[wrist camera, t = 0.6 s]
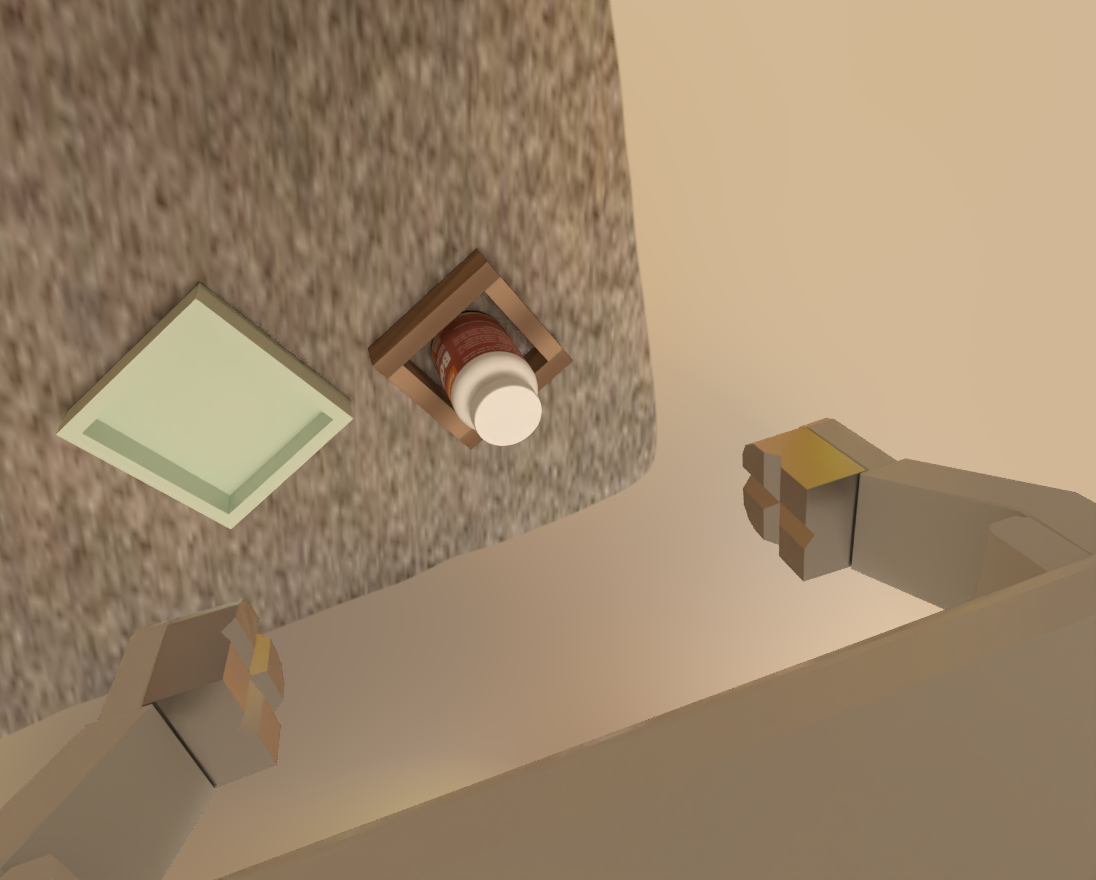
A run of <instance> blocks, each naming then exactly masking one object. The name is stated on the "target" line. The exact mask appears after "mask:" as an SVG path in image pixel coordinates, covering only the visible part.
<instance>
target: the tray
mask: <svg viewBox="0 0 1096 880" xmlns="http://www.w3.org/2000/svg"><path fill="white" fill-rule="evenodd" d="M352 419H353V414H352V409H351V404H350V399H349V398H348V397H346V396H345V395H344V394H342V393H341V392H340V391H339V390H337V389H336V388H335V387H333V386H332V385H331V384H330V383H328V382H327V381H326V380H325V379H323V378H322V377H321V376H319V375H318V374H317V373H316V372H314V371H313V370H312V369H310V368H309V367H308V366H307V365H305V364H304V363H303V362H302V361H300V360H299V359H298V358H296V357H295V356H294V355H293V354H291V353H290V352H289V351H287V350H286V349H285V348H284V347H282V346H281V345H280V344H279V343H277V342H276V341H275V340H273V339H272V338H271V337H270V336H268V335H267V334H266V333H265V332H263V331H262V330H261V329H259V328H258V327H257V326H256V325H254V324H253V323H252V322H250V321H249V320H248V319H247V318H245V317H244V316H243V315H242V314H240V313H239V312H238V311H236V310H235V309H234V308H233V307H231V306H230V305H229V304H227V303H226V302H225V301H224V300H222V299H221V298H220V297H219V296H217V295H216V294H215V293H213V292H212V291H211V290H210V289H208V288H207V287H206V286H204V285H203V284H202V283H201V282H200V283H199V284H198V285H197V286H195V287H194V288H193V289H192V290H191V291H190V292H189V293H188V294H187V295H186V296H185V297H184V298H183V299H182V300H181V301H180V302H179V303H178V304H177V305H176V306H175V307H174V308H173V309H172V310H171V311H170V312H169V313H168V314H167V315H166V316H165V317H164V318H163V319H162V320H161V321H160V322H159V323H157V324H156V325H155V326H154V327H153V328H152V329H151V330H150V331H149V332H148V333H147V334H146V335H145V336H144V337H143V338H142V339H141V340H140V341H139V342H138V343H137V344H136V345H135V346H134V347H133V348H132V349H131V350H130V351H129V352H128V353H127V354H126V355H125V356H124V357H123V358H122V359H121V360H120V361H118V362H117V363H116V364H115V365H114V366H113V367H112V368H111V369H110V370H109V371H108V372H107V373H106V374H105V375H104V376H103V377H102V378H101V379H100V380H99V381H98V382H97V383H96V384H95V385H94V386H93V387H92V388H91V389H90V390H89V391H88V392H87V393H86V394H85V395H84V396H83V397H82V398H81V399H79V400H78V401H77V402H76V403H75V404H74V405H73V406H72V407H71V408H70V409H69V410H68V411H67V413H66V415H65V417H64V419H63V421H62V423H61V425H60V427H59V429H58V431H57V433H56V435H58V436H59V437H61V438H63V439H65V440H67V441H69V442H71V443H72V444H74V445H76V446H78V447H80V448H82V449H84V450H85V451H87V452H89V453H91V454H93V455H95V456H96V457H98V458H100V459H102V460H104V461H106V462H108V463H109V464H111V465H113V466H115V467H117V468H119V469H121V470H122V471H124V472H126V473H128V474H130V475H132V476H133V477H135V478H137V479H139V480H141V481H143V482H145V483H146V484H148V485H150V486H152V487H154V488H156V489H157V490H159V491H161V492H163V493H165V494H167V495H169V496H170V497H172V498H174V499H176V500H178V501H180V502H182V503H183V504H185V505H187V506H189V507H191V508H193V509H194V510H196V511H198V512H200V513H202V514H204V515H206V516H207V517H209V518H211V519H213V520H215V521H217V522H219V523H220V524H222V525H224V526H226V527H228V528H230V529H232V528H233V527H234V526H235V525H236V524H237V523H238V522H239V521H241V520H242V519H243V518H244V517H245V516H246V515H247V514H248V513H249V512H251V511H252V510H253V509H254V508H255V507H256V506H257V505H258V504H259V503H260V502H262V501H263V500H264V499H265V498H266V497H267V496H268V495H269V494H270V493H272V492H273V491H274V490H275V489H276V488H277V487H278V486H279V485H280V484H282V483H283V482H284V481H285V480H286V479H287V478H288V477H289V476H290V475H291V474H293V473H294V472H295V471H296V470H297V469H298V468H299V467H300V466H301V465H303V464H304V463H305V462H306V461H307V460H308V459H309V458H310V457H311V456H313V455H314V454H315V453H316V452H317V451H318V450H319V449H320V448H321V447H322V446H324V445H325V444H326V443H327V442H328V441H329V440H330V439H331V438H332V437H334V436H335V435H336V434H337V433H338V432H339V431H340V430H341V429H342V428H344V427H345V426H346V425H347V424H348V423H349V422H350V421H351V420H352Z"/></svg>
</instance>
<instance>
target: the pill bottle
mask: <svg viewBox="0 0 1096 880" xmlns="http://www.w3.org/2000/svg"><path fill="white" fill-rule="evenodd" d="M432 359H433V362H434V365H435V368H436V370H437V372H438V374H439V377H440V379H441V381H442V383H443V386H444V388H445V390H446V393H447V395H448V397H449V399H450V401H451V403H452V406H453V408H454V410H455V412H456V414H457V415H458V417H459V418H460V419H461V420H462V421H463V422H464V423H465V424H466V425H467V426H469V427H470V428H472V429H474V430H476V431H477V433H478V434H479V436H480V437H481V438H482V439H483V440H485V441H486V442H488V443H491V444H494V445H499V446H506V445H512V444H515V443H518V442H520V441H522V440H523V439H525V438H527V437H528V436H529V435H530V434H531V433H532V432H533V431H534V430H535V428H536V427H537V425H538V423H539V421H540V418H541V412H542V409H541V403H540V400H539V398H538V396H537V394H538V385H537V380H536V377H535V374H534V372H533V370H532V369H531V367H530V366H529V364H528V363H527V361H526V360H525V359H524V357H523V356H522V354H521V353H520V351H519V350H518V349H517V347H516V346H515V344H514V343H513V341H512V340H511V339H510V337H509V336H508V334H507V333H506V331H505V330H504V328H503V327H502V326H501V325H500V324H499V323H498V322H497V321H496V320H495V319H494V318H492V317H490V316H488V315H486V314H483V313H478V312H467V313H462V314H459V315H458V316H457V317H456V318H455V319H454V320H452V321H451V322H450V323H449V324H448V325H447V326H446V327H445V328H444V329H442V330H441V331H440V332H439V333H438V334H437V335H436V336H435V337H434V340H433V344H432Z"/></svg>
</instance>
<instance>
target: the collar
mask: <svg viewBox="0 0 1096 880" xmlns="http://www.w3.org/2000/svg"><path fill="white" fill-rule="evenodd" d="M484 291H485V292H486V293H487V294H488V295H489V297H490V298H491V299H492V300H493V301H494V302H495V303H496V304H497V305H498V306H499V308H500V309H501V310H502V311H503V312H504V313H505V314H506V315H507V316H508V317H509V319H510V320H511V321H512V322H513V323H514V324H515V325H516V326H517V327H518V328H519V330H520V331H521V332H522V333H523V334H524V335H525V336H526V337H527V338H528V340H529V341H530V342H531V343H532V344H533V345H534V346H535V347H534V348H533V349H532V350H531V351H530V352H528V353H527V354H526V355H525V356H524V359H525V360H526V361H527V363H528V364H529V366H530V367H531V369H532V370H533V372H534V374H535V377H536V380H537V385H538V391H539V390H540V389H541V388H543V387H544V386H545V385H546V384H547V383H548V382H549V381H551V380H552V379H553V378H554V377H555V376H556V375H558V374H559V373H560V372H561V371H562V370H563V369H564V368H566V367H567V366H568V365H569V364H570V363H571V362H572V361H573V360H572V359H571V358H570V356H569V355H568V354H567V353H566V352H565V350H564V349H563V348H562V347H561V346H560V344H559V343H558V342H557V341H556V340H555V339H554V337H553V336H552V335H551V334H550V333H549V332H548V331H547V329H546V328H545V327H544V326H543V325H542V324H541V322H540V321H539V320H538V319H537V318H536V317H535V316H534V314H533V313H532V312H531V311H530V310H529V309H528V307H527V306H526V305H525V304H524V303H523V302H522V301H521V299H520V298H519V297H518V296H517V295H516V294H515V292H514V291H513V290H512V289H511V288H510V287H509V286H508V284H507V283H506V282H505V281H504V280H503V279H502V278H501V276H500V275H499V274H498V273H497V272H496V271H495V269H494V268H493V267H492V266H491V265H490V264H489V263H488V261H487V260H486V259H485V258H484V257H483V256H482V254H481V253H480V252H479V251H478V250H477V249H476V250H475V251H474V252H473V253H472V254H470V255H469V256H468V257H467V258H466V259H465V260H464V261H463V262H462V263H461V264H460V265H458V266H457V267H456V268H455V269H454V270H453V271H452V272H451V273H450V274H449V275H448V276H446V277H445V278H444V279H443V280H442V281H441V282H440V283H439V284H438V285H437V286H436V287H434V288H433V289H432V290H431V291H430V292H429V293H428V294H427V295H426V296H425V297H424V298H422V299H421V300H420V301H419V302H418V303H417V304H416V305H415V306H414V307H413V308H412V309H411V310H409V311H408V312H407V313H406V314H405V315H404V316H403V317H402V318H401V319H400V320H399V321H397V322H396V323H395V324H394V325H393V326H392V327H391V328H390V329H389V330H388V331H387V332H385V333H384V334H383V335H382V336H381V337H380V338H379V339H378V340H377V341H376V342H375V343H373V344H372V345H371V346H370V347H369V348H368V351H369V354H370V358H371V362H372V365H373V367H374V368H375V369H377V370H378V371H379V372H380V373H381V374H383V375H384V376H385V377H386V378H387V379H388V380H390V381H391V382H392V383H393V384H394V385H396V386H397V387H398V388H399V389H400V390H401V391H403V392H404V393H405V394H406V395H407V396H408V397H410V398H411V399H412V400H413V401H414V402H416V403H417V404H418V405H419V406H420V407H421V408H423V409H424V410H425V411H426V412H427V413H429V414H430V415H431V416H432V417H433V418H434V419H436V420H437V421H438V422H439V423H440V424H441V425H443V426H444V427H445V428H446V429H447V430H449V431H450V432H451V433H452V434H453V435H454V436H456V437H457V438H458V439H459V440H460V441H462V442H463V443H464V444H465V445H466V446H467V447H469V448H470V449H472V448H474V447H475V446H476V445H477V444H478V443H479V442H480V441H482V440H483V439H482V438H481V437H480V436H479V434H478V433H477V431H476V430H474V429H472V428H470V427H469V426H467V425H466V424H465V423H464V422H463V421H462V420H461V419H460V418H459V417H458V415H457V414H456V412H455V410H454V408H453V406H452V403H451V401H450V399H449V397H448V395H447V393H446V392H445V391H444V390H443V389H442V388H440V387H439V386H438V385H437V384H436V383H435V382H434V381H433V380H432V379H430V378H429V377H428V376H427V375H426V374H425V373H424V372H423V371H422V370H420V369H419V368H418V367H417V366H416V365H415V364H414V363H413V362H412V361H410V360H409V359H410V358H412V357H413V356H414V355H415V354H416V353H417V352H418V351H419V350H420V349H421V348H423V347H424V346H425V345H426V344H427V343H428V342H429V341H430V340H431V339H433V338H434V337H435V336H436V335H437V334H438V333H439V332H440V331H441V330H442V329H444V328H445V327H446V326H447V325H448V324H449V323H450V322H451V321H452V320H454V319H455V318H456V317H457V316H458V315H459V314H460V313H461V312H462V311H463V310H465V309H466V308H467V307H468V306H469V305H470V304H471V303H472V302H473V301H474V300H476V299H477V298H478V297H479V296H480V295H481V294H482V293H483V292H484Z"/></svg>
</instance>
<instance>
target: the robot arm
mask: <svg viewBox="0 0 1096 880" xmlns="http://www.w3.org/2000/svg"><path fill="white" fill-rule="evenodd" d="M743 467H744V468H745V469H746V470H747V471H748V472H749V473H750V474H751V476H750V478H749V479H748V481H747V483H746V484H745V486H744V488H743V495H744V506H745V509H746V512H747V515H748V518H749V520H750V522H751V524H752V525H753V527H754V529H755V530H756V531H757V533H758V534H759V535H760V536H761V537H762V538H763V539H764V540H767V541H770V542H773V543H776V544H779V556H780V557H781V558H782V560H783V561H785V563H786V564H787V565H788V566H789V567H790V568H791V569H792V570H793V571H794V572H795V573H796V574H797V575H798V576H799V577H800V578H801V579H802V580H803V581H806V580H809V579H813V578H816V577H819V576H822V575H825V574H828V573H831V572H835V571H838V570H841V569H844V568H847V567H850V566H851V569H854V570H855V571H858V572H860V573H862V574H865V575H867V576H869V577H872V578H874V579H876V580H878V581H881V582H883V583H885V584H888V585H890V586H892V587H895V588H897V589H899V590H901V591H904V592H906V593H908V594H910V595H913V596H915V597H918V598H920V599H922V600H924V601H927V602H929V603H931V604H934V605H936V606H938V607H941V608H943V609H945V610H943V611H940V612H938V613H935V614H932V615H930V616H927V617H925V618H922V619H919V620H917V621H914V622H911V623H908V624H906V625H903V626H900V627H897V628H895V629H892V630H889V631H887V632H884V633H881V634H879V635H876V636H873V637H871V638H868V639H865V640H863V641H860V642H857V643H855V644H852V645H849V646H846V647H844V648H841V649H838V650H836V651H833V652H830V653H827V654H824V655H822V656H819V657H816V658H814V659H811V660H808V661H806V662H803V663H800V664H797V665H795V666H792V667H789V668H787V669H784V670H781V671H778V672H776V673H773V674H770V675H767V676H765V677H762V678H759V679H757V680H754V681H751V682H748V683H746V684H743V685H740V686H738V687H735V688H732V689H729V690H727V691H724V692H721V693H718V694H716V695H713V696H710V697H708V698H705V699H702V700H699V701H697V702H694V703H691V704H688V705H686V706H683V707H680V708H678V709H675V710H672V711H670V712H667V713H664V714H662V715H659V716H656V717H653V718H651V719H648V720H645V721H643V722H640V723H637V724H634V725H632V726H629V727H626V728H624V729H621V730H618V731H616V732H613V733H611V734H608V735H605V736H602V737H599V738H597V739H594V740H591V741H589V742H586V743H583V744H580V745H578V746H575V747H572V748H570V749H567V750H564V751H562V752H559V753H556V754H553V755H551V756H548V757H545V758H543V759H540V760H537V761H534V762H532V763H529V764H526V765H524V766H521V767H518V768H516V769H513V770H510V771H507V772H505V773H502V774H499V775H497V776H494V777H491V778H489V779H486V780H483V781H480V782H478V783H475V784H472V785H470V786H467V787H464V788H462V789H459V790H456V791H453V792H451V793H448V794H445V795H443V796H440V797H437V798H434V799H432V800H429V801H426V802H424V803H421V804H418V805H416V806H413V807H410V808H407V809H405V810H402V811H399V812H397V813H394V814H391V815H388V816H386V817H383V818H380V819H378V820H375V821H372V822H370V823H367V824H364V825H361V826H359V827H356V828H354V829H351V830H348V831H345V832H342V833H340V834H337V835H334V836H332V837H329V838H326V839H324V840H321V841H318V842H315V843H313V844H310V845H307V846H305V847H302V848H299V849H296V850H294V851H291V852H289V853H286V854H283V855H280V856H278V857H275V858H272V859H269V860H267V861H264V862H261V863H259V864H256V865H253V866H250V867H248V868H245V869H243V870H240V871H237V872H235V873H232V874H229V875H226V876H224V877H221V878H218V879H216V880H1096V503H1094V502H1093V501H1091V500H1089V499H1087V498H1085V497H1083V496H1082V495H1080V494H1078V493H1076V492H1071V491H1066V490H1061V489H1056V488H1051V487H1046V486H1041V485H1036V484H1031V483H1026V482H1021V481H1015V480H1011V479H1006V478H1001V477H996V476H991V475H985V474H981V473H976V472H970V471H966V470H961V469H955V468H951V467H946V466H940V465H936V464H930V463H926V462H920V461H915V460H910V459H903V460H900V461H896V460H895V459H893V458H892V457H890V456H889V455H887V454H886V453H884V452H882V451H881V450H880V449H878V448H877V447H875V446H874V445H872V444H871V443H869V442H868V441H866V440H865V439H863V438H862V437H860V436H859V435H857V434H856V433H854V432H853V431H851V430H850V429H848V428H847V427H845V426H844V425H842V424H841V423H839V422H838V421H836V420H834V419H829V418H825V419H822V420H819V421H816V422H813V423H810V424H807V425H804V426H801V427H799V428H798V429H795V430H792V431H789V432H785V433H782V434H779V435H776V436H773V437H770V438H766V439H764V440H760V441H757V442H754V443H751V444H748V445H745V448H744V451H743ZM258 623H259V617H258V615H257V614H256V612H255V610H254V609H253V607H252V605H251V604H250V602H247V601H245V600H239V601H236V602H232V603H229V604H225V605H222V606H218V607H215V608H211V609H208V610H204V611H201V612H197V613H194V614H190V615H187V616H183V617H180V618H176V619H174V620H171V621H167V622H163V623H160V624H157V625H153V626H150V627H147V628H144V629H140V630H138V631H137V632H136V633H134V634H133V635H132V636H131V638H130V640H129V642H128V645H127V647H126V650H125V653H124V655H123V658H122V660H121V663H120V665H119V668H118V670H117V673H116V676H115V678H114V681H113V683H112V686H111V688H110V691H109V694H108V696H107V699H106V701H105V704H104V707H103V709H102V712H101V714H100V717H99V719H98V721H97V722H94V723H91V724H88V725H86V726H85V727H84V728H83V729H82V730H81V731H80V732H79V733H77V734H76V736H75V737H73V738H72V739H71V740H70V741H69V742H68V743H67V745H65V746H64V747H63V748H62V749H61V750H60V751H59V752H58V753H57V754H56V755H55V756H54V757H53V758H52V759H51V760H50V761H49V762H48V763H47V764H46V765H45V766H44V767H43V768H42V769H41V770H40V771H39V772H38V773H37V774H36V775H35V776H34V777H33V778H32V779H31V780H30V781H29V782H28V783H27V784H26V785H25V786H24V787H23V788H22V789H21V790H20V791H18V792H17V794H16V795H14V796H13V797H12V798H11V800H9V801H8V802H7V803H6V804H5V805H4V806H3V807H2V808H1V809H0V880H162V878H163V876H164V875H165V873H166V871H167V870H168V868H169V867H170V865H171V864H172V862H173V860H174V859H175V857H176V855H177V854H178V852H179V850H180V849H181V847H182V846H183V844H184V843H185V841H186V839H187V838H188V836H189V834H190V833H191V831H192V830H193V828H194V826H195V824H196V823H197V821H198V820H199V818H200V817H201V815H202V813H203V812H204V810H205V809H206V807H207V805H208V804H209V802H210V800H211V799H212V797H213V796H214V794H215V792H216V790H215V788H217V787H219V786H222V785H225V784H227V783H230V782H233V781H235V780H238V779H241V778H243V777H246V776H249V775H251V774H254V773H256V772H259V771H262V770H264V769H267V768H270V767H272V766H275V765H277V760H278V749H279V740H280V730H281V724H280V723H279V721H278V719H277V717H276V716H275V714H274V712H275V711H276V709H277V708H278V707H279V705H280V704H281V702H282V701H283V698H284V677H283V670H282V664H281V661H280V658H279V655H278V652H277V650H276V648H275V646H274V645H273V643H272V641H271V639H269V638H267V637H265V636H263V635H260V634H258V633H257V630H258Z"/></svg>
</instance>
